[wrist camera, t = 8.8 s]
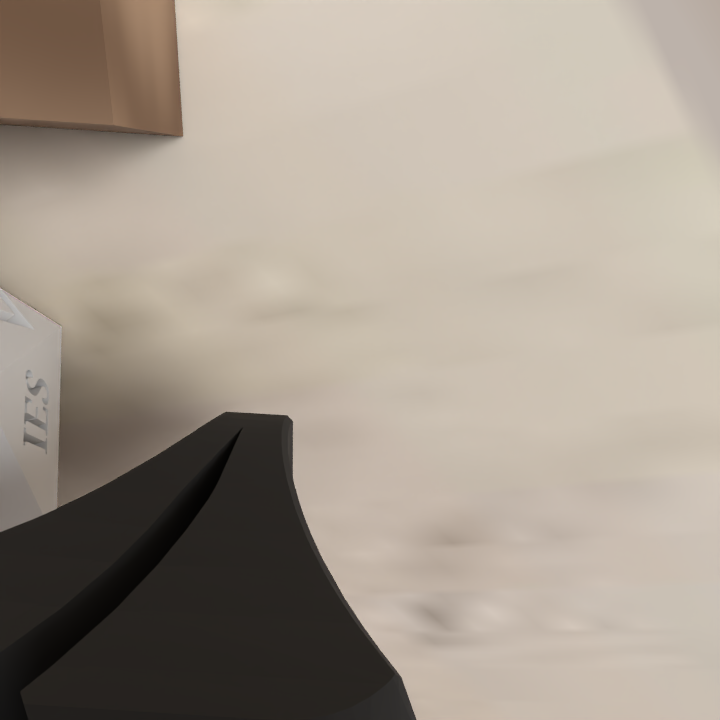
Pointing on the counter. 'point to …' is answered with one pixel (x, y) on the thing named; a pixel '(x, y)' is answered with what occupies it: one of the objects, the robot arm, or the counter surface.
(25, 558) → the robot arm
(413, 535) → the counter surface
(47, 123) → the pocket
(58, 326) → the die
